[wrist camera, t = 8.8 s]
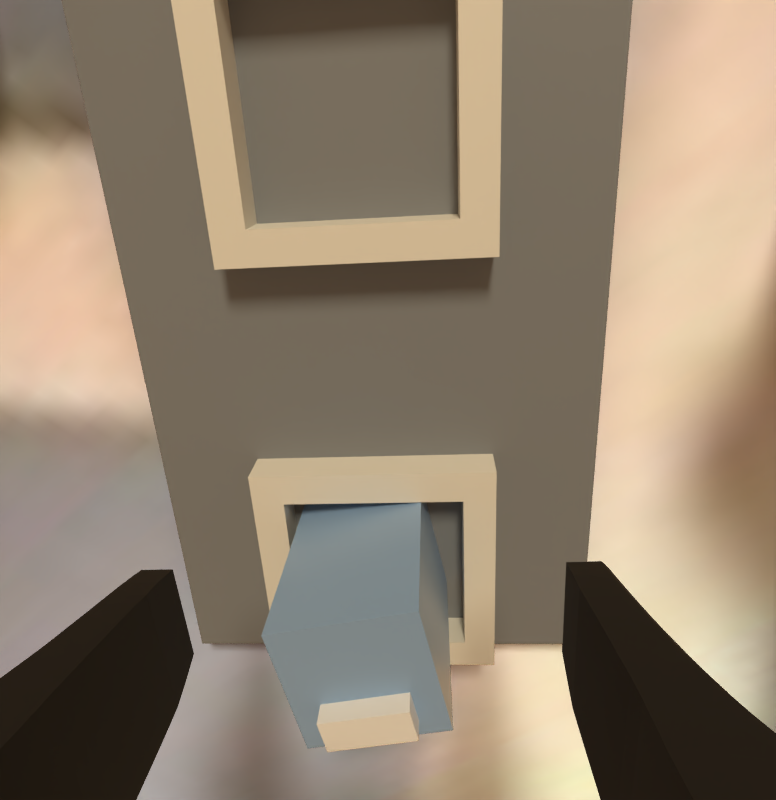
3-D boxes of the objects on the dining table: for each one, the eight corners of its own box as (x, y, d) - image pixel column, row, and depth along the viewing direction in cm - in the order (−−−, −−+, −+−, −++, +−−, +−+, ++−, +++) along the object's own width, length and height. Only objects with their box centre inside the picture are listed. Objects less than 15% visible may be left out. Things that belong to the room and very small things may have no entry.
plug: (421, 482, 20) (418, 629, 14) (447, 580, 22) (453, 750, 16) (304, 504, 21) (255, 654, 15) (337, 598, 23) (303, 769, 16)
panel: (628, -93, 15) (659, -128, 13) (574, 623, 24) (588, 669, 22) (70, -45, 16) (19, -71, 14) (210, 624, 25) (191, 668, 23)
